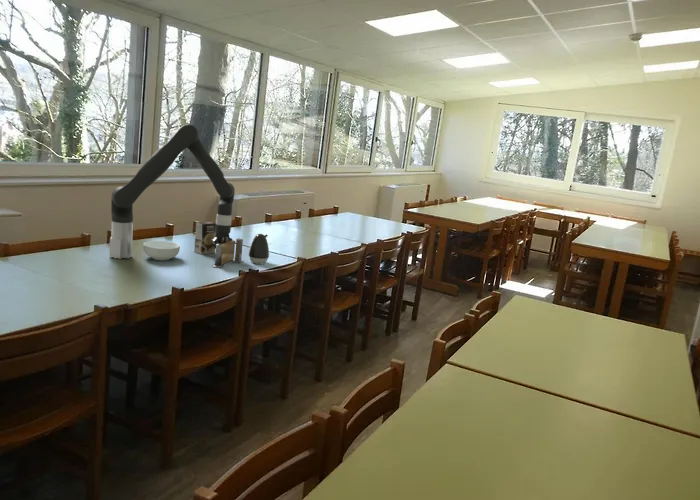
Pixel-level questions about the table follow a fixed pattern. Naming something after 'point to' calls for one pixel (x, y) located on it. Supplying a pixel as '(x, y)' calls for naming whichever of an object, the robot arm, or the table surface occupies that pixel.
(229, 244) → the gate
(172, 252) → the cereal bowl
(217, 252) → the hinge post
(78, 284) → the table surface
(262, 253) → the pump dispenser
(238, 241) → the post
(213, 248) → the coffee box
